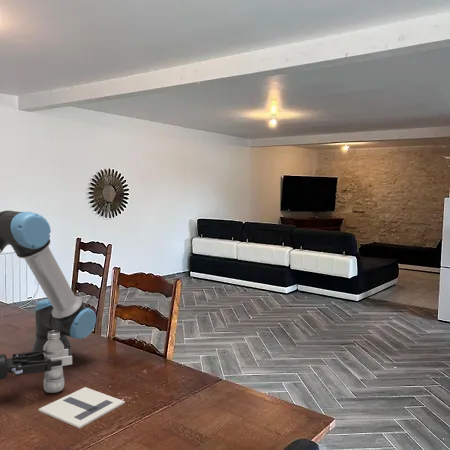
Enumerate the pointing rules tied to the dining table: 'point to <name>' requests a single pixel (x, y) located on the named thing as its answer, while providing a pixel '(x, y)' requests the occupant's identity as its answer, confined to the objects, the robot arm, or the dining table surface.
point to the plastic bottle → (55, 376)
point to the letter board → (81, 407)
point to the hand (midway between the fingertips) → (69, 356)
